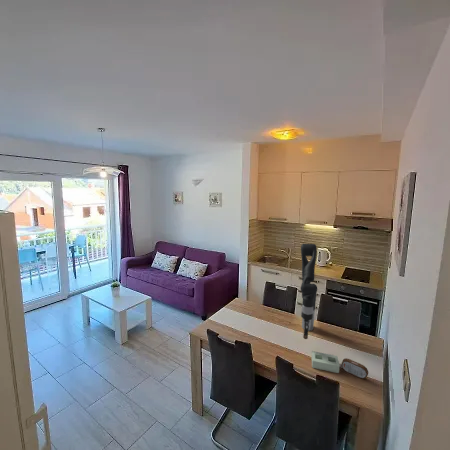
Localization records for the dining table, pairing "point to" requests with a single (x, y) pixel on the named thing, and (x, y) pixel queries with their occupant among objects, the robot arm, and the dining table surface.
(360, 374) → the tin
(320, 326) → the dining table surface
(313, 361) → the hole block
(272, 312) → the dining table surface
